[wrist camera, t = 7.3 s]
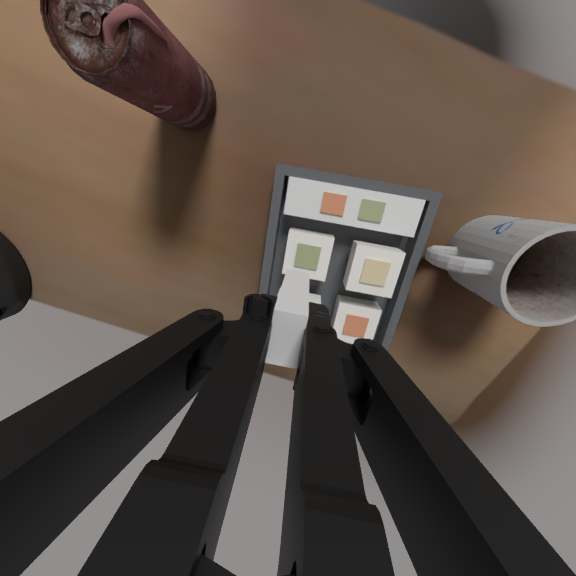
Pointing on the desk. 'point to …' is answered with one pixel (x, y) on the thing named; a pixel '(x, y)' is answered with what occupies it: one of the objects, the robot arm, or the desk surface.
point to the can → (131, 57)
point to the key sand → (373, 269)
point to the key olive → (308, 252)
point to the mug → (515, 266)
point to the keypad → (348, 231)
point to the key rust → (355, 318)
